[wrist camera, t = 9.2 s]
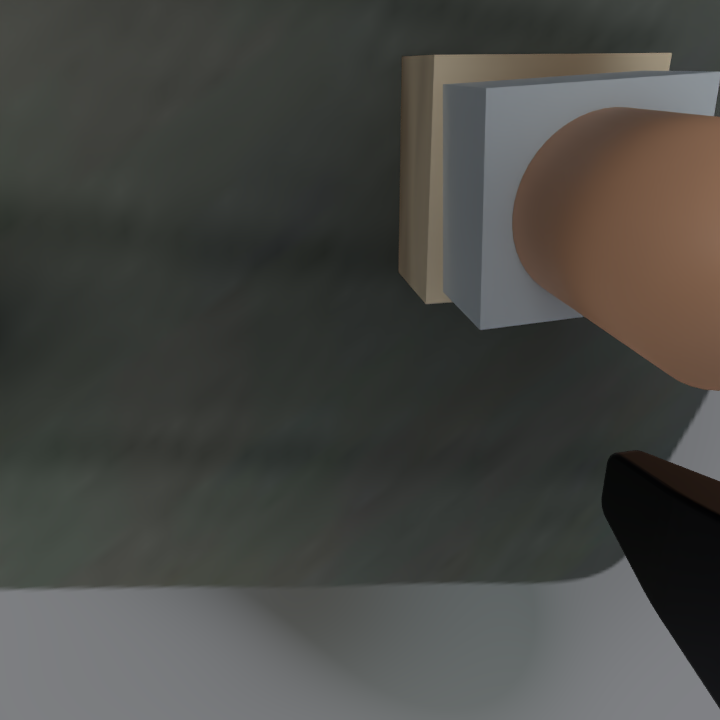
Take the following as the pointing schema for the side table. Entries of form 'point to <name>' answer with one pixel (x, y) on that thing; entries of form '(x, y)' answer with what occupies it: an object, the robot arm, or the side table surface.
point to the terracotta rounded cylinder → (631, 232)
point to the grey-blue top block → (507, 166)
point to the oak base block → (426, 139)
